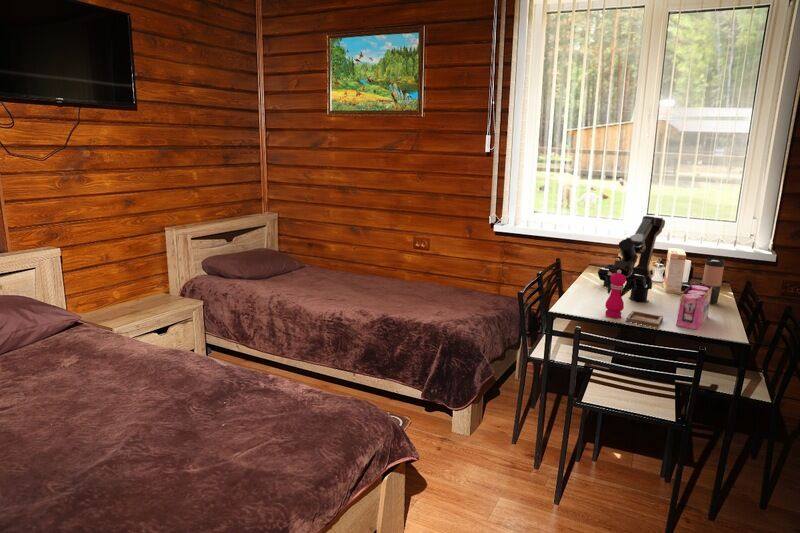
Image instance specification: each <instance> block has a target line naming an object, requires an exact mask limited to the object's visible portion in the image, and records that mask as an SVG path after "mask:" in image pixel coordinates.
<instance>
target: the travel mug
mask: <svg viewBox="0 0 800 533" xmlns="http://www.w3.org/2000/svg"><path fill="white" fill-rule="evenodd" d="M725 263H726V261H725V260H724V259H720V258H716V257H715V258H713V257H712V258H710V257H708V258H705V265H704V270H703V276H702V282H701V284H702V285H708V286H713V287H712V292H711V298H710V305H717V304H718V303H719V302H718V301H719V298H720V297H719V296H720V293H721V287H722V282H723V276H724V275H723V274H724V269H725Z"/></svg>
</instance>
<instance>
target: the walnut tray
mask: <svg viewBox="0 0 800 533" xmlns="http://www.w3.org/2000/svg"><path fill="white" fill-rule="evenodd" d="M663 319H664V316H662V315H660V314H659V315H658V314H652V313H647V312H642V311H641V312H640V311H636V310H631V311H630V313H629V314H628V315H627V316H626V318H625V323H627V322H632V323H631V324H633V323H637V324H636V325H638V324H642V325H641V326H643V325H646V326H645V327H648V326H651V327H650V328H653V327H657V328H656V329H659V327H660V326H661V324H662V322H663ZM659 325H660V326H659Z"/></svg>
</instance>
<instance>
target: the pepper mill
mask: <svg viewBox="0 0 800 533" xmlns="http://www.w3.org/2000/svg"><path fill="white" fill-rule="evenodd" d="M621 272H622V271H621V270H620V269H619V270H617V273H614V274H612V276H611V278H610V280H611V282H612V284H611V288H612V289H611V291H610V293H609V294H610V295H609V297H608V298H607V300H606V301H605V306H604V307H605V309H606V310H605V314H604V315H605V316H606V317H608V318H612V319H621V318H622V311H623V310H624V308H625V305H624V300H623V296H621V293H622V290H623V288H624V286H625V285H624V284H626V277H625V275H623V274H622V273H621Z"/></svg>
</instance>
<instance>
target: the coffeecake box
mask: <svg viewBox="0 0 800 533" xmlns="http://www.w3.org/2000/svg"><path fill="white" fill-rule="evenodd" d="M667 249H668V251H667V257H666V265H665V271H664V277H663V283H662V284H663V285H662V286H663V289H664V292H665V293H668V292H669V293H670V294H680V295H681V294H682V286H683V285H682V284H683V280H684V272H685V266H686V261H687V260H686V258H687V254H686V252H685V250H684V249H681V248H674V247H668V248H667Z"/></svg>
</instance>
